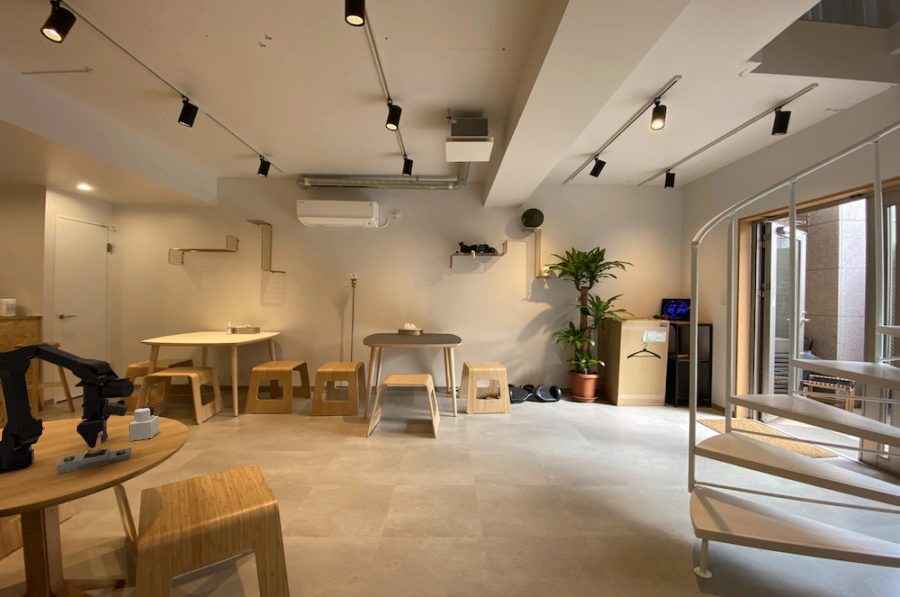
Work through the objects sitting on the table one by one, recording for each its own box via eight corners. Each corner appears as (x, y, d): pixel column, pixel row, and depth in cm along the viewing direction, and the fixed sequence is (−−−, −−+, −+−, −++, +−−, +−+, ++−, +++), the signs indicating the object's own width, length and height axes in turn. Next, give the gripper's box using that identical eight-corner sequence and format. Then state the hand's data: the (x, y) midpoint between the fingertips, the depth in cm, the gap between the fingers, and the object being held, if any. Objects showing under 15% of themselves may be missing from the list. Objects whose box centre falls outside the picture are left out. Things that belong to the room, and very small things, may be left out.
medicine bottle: (137, 434, 141) (137, 406, 141) (159, 432, 144) (158, 404, 144) (128, 441, 135) (128, 411, 135) (151, 439, 137) (150, 409, 137)
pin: (85, 466, 115) (84, 437, 115) (87, 462, 118) (87, 433, 118) (101, 463, 117) (101, 433, 117) (103, 458, 120) (103, 430, 120)
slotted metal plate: (57, 474, 110) (57, 463, 110) (62, 465, 115) (62, 455, 115) (129, 458, 121) (129, 448, 121) (131, 451, 126) (131, 441, 126)
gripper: (124, 400, 115) (124, 445, 116) (129, 388, 130) (129, 429, 130) (76, 407, 108) (76, 455, 109) (87, 393, 123) (87, 436, 123)
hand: (95, 443), depth 118 cm, fingers open, 9 cm apart
